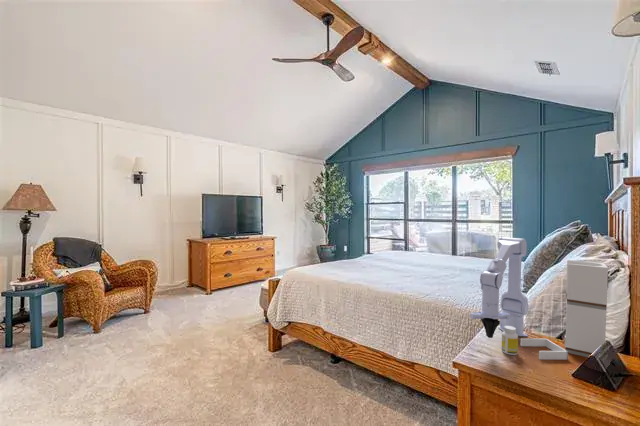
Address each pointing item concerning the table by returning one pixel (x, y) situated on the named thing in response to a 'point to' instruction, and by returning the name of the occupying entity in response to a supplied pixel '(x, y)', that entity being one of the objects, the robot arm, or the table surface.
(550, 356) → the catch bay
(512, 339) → the supplement bottle
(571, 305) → the mini fridge
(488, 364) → the table surface
